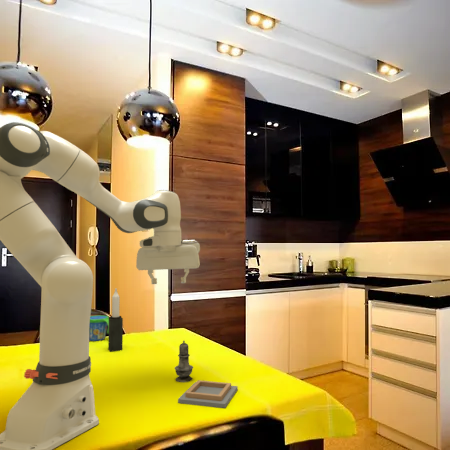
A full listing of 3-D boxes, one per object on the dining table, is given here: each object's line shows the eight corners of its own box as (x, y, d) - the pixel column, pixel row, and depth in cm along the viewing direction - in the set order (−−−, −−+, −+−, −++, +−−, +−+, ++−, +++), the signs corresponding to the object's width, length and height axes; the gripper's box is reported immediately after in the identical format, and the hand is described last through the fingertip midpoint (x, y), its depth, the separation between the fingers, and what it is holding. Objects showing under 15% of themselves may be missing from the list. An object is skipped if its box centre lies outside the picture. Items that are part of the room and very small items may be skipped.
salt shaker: (190, 383, 114) (190, 342, 115) (171, 381, 115) (171, 342, 116) (195, 376, 119) (195, 338, 120) (178, 375, 121) (177, 337, 121)
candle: (107, 349, 154) (108, 288, 156) (120, 347, 157) (120, 287, 159) (110, 351, 150) (110, 289, 152) (122, 350, 152) (123, 288, 154)
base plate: (225, 408, 95) (225, 399, 95) (178, 402, 99) (177, 394, 99) (237, 389, 108) (237, 381, 108) (195, 385, 111) (195, 378, 111)
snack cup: (117, 339, 172) (117, 316, 173) (99, 344, 163) (99, 320, 164) (93, 335, 180) (94, 314, 180) (75, 340, 171) (75, 317, 171)
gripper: (200, 239, 124) (201, 281, 124) (139, 241, 124) (139, 283, 124) (199, 239, 118) (200, 283, 117) (134, 241, 118) (135, 285, 117)
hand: (168, 283), depth 120 cm, fingers open, 8 cm apart
